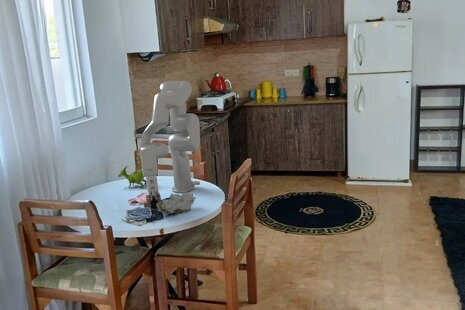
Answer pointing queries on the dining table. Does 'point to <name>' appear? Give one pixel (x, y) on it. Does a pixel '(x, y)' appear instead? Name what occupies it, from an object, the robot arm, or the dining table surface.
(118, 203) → the dining table surface
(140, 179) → the toy
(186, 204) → the rock
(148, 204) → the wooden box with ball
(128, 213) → the tray
